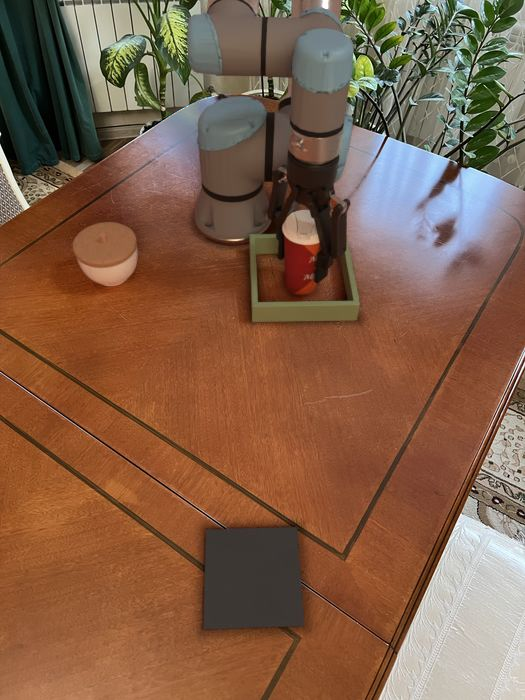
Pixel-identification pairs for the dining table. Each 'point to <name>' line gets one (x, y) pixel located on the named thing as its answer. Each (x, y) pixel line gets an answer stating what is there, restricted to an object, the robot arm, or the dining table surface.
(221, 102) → the robot arm
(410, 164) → the dining table surface
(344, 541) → the dining table surface
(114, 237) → the trinket box
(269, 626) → the mat
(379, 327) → the dining table surface
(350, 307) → the square frame
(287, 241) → the paper cup
